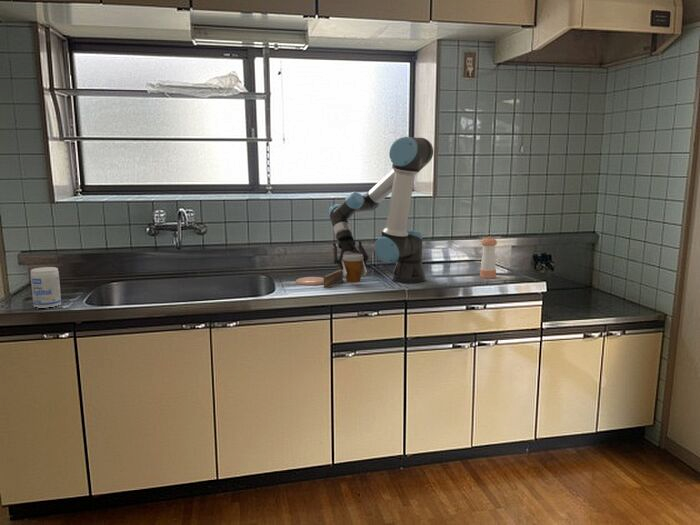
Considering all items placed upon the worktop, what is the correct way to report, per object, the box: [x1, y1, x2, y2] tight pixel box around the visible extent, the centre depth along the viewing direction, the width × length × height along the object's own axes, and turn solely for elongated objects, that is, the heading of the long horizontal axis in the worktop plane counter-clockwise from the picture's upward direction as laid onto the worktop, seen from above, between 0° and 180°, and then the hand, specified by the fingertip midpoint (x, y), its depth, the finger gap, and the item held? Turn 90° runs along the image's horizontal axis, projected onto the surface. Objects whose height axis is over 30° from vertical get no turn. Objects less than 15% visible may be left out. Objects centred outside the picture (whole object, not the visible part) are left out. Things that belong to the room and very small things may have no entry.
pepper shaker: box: [479, 236, 498, 279], centre depth 259 cm, size 7×7×19 cm
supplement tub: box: [30, 266, 62, 309], centre depth 213 cm, size 10×10×15 cm
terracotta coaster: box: [295, 276, 324, 286], centre depth 253 cm, size 15×15×1 cm
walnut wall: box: [323, 269, 344, 289], centre depth 248 cm, size 2×16×5 cm, turn 155°
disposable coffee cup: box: [342, 252, 364, 284], centre depth 245 cm, size 10×10×12 cm
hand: (355, 274), depth 242 cm, fingers closed on disposable coffee cup, 9 cm apart
